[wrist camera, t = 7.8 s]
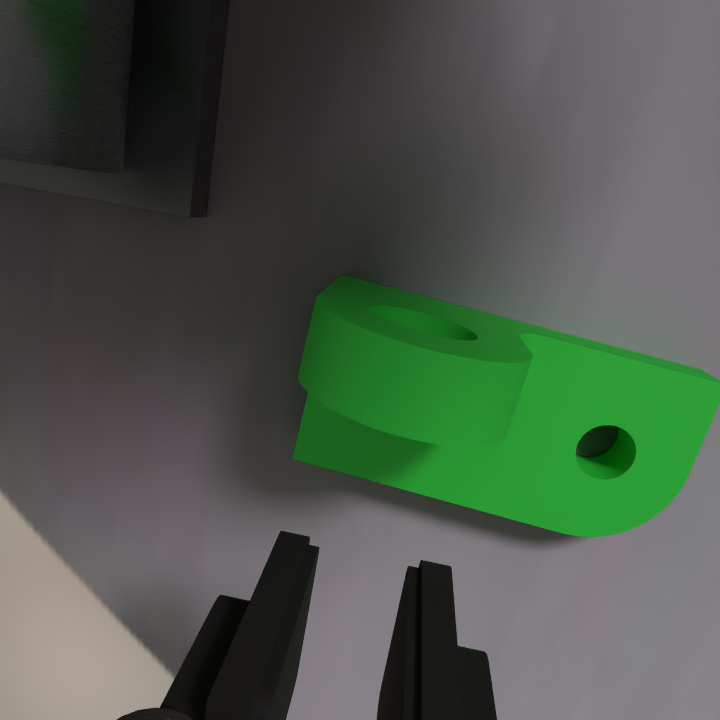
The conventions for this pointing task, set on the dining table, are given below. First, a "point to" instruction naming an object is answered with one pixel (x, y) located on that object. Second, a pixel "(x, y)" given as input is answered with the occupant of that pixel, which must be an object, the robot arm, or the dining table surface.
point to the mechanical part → (495, 411)
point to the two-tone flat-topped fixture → (112, 99)
